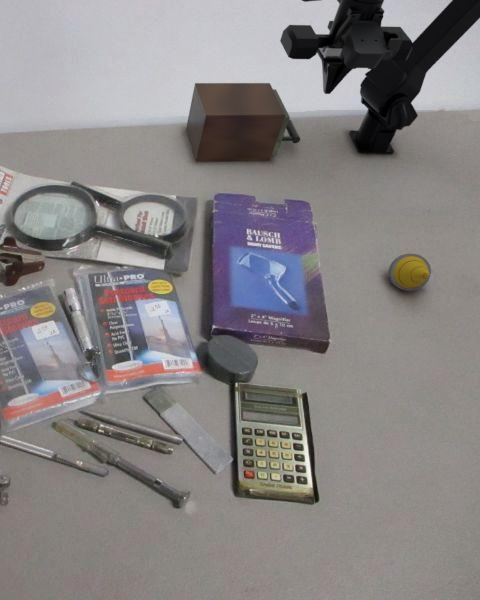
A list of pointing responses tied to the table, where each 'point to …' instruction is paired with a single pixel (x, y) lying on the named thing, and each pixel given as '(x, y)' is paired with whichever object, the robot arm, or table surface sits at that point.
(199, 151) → the cabinet
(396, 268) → the yellow tiered knob
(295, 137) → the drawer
